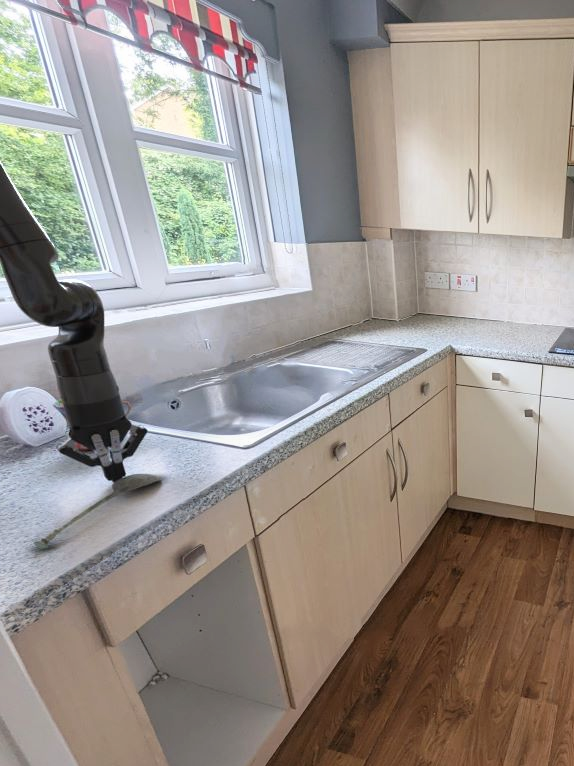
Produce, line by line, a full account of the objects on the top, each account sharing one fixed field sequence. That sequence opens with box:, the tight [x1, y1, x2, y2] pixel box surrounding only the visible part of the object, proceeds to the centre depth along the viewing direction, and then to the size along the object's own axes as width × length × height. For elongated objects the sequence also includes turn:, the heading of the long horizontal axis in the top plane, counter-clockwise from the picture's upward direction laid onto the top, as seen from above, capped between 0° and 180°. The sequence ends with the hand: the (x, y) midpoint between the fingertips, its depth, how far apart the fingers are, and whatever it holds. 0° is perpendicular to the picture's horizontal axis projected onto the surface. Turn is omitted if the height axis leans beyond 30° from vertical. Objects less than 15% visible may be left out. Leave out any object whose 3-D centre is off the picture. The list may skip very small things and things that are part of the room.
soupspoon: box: [33, 473, 162, 550], centre depth 79 cm, size 22×3×7 cm
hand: (116, 480), depth 87 cm, fingers closed
